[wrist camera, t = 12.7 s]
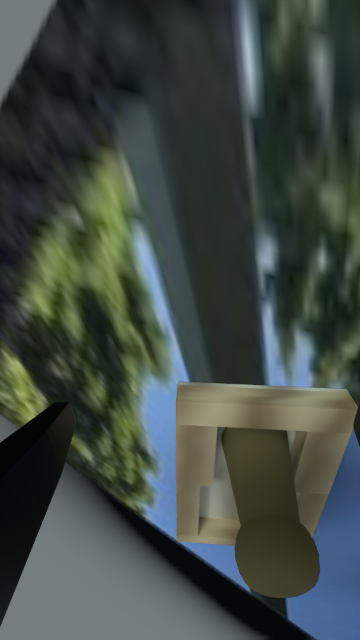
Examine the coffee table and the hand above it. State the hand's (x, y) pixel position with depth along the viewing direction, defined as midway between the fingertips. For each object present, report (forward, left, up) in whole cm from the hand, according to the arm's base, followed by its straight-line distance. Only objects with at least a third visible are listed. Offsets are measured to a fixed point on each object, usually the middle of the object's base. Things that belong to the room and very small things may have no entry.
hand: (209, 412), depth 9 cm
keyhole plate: (-5, +20, -13) cm, 24 cm away
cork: (-5, +15, -13) cm, 21 cm away
